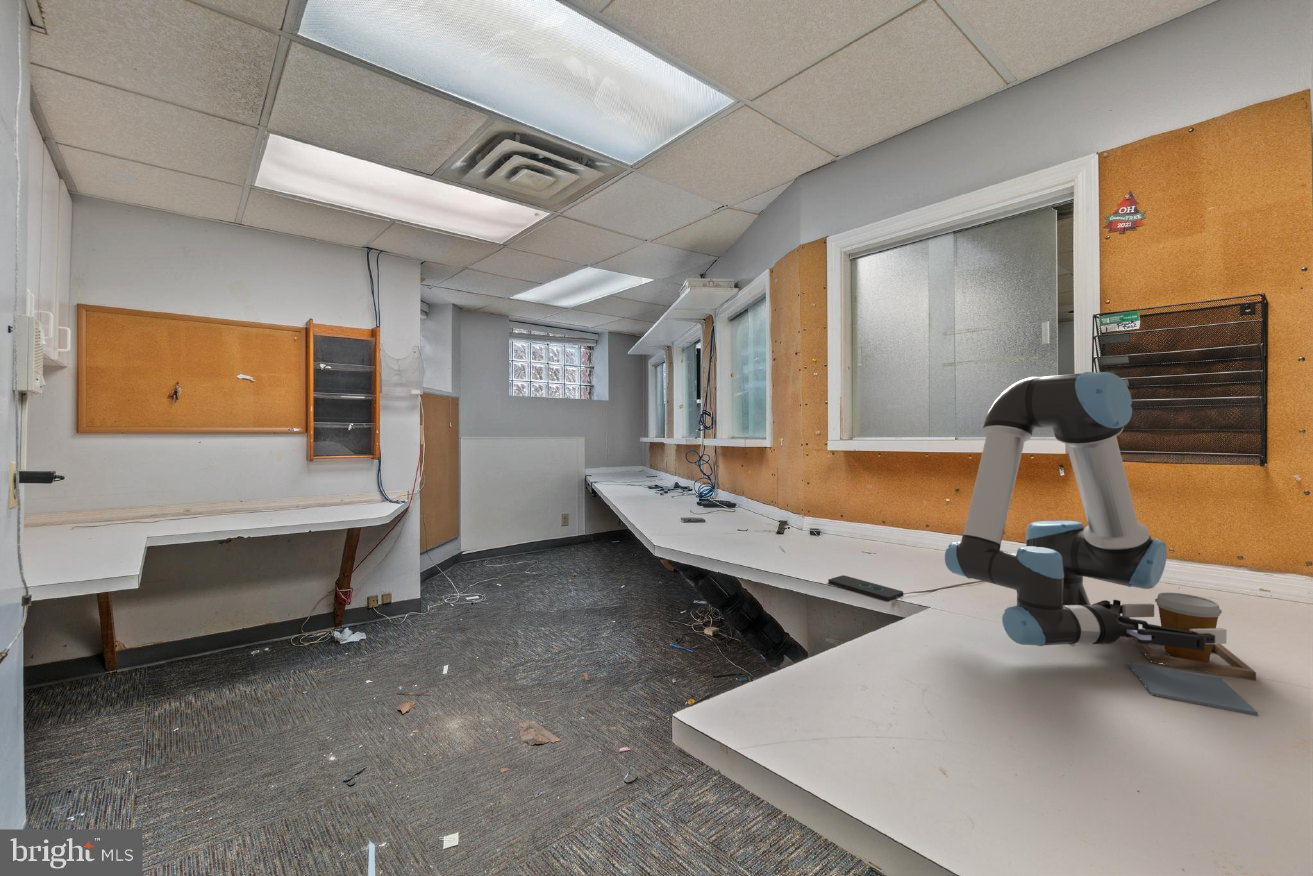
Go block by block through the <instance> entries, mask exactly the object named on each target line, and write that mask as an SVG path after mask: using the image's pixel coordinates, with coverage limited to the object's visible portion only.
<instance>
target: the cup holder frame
mask: <svg viewBox="0 0 1313 876" xmlns="http://www.w3.org/2000/svg"><path fill="white" fill-rule="evenodd" d="M1129 638H1130V639H1131V641H1132V642H1133V643H1134V642H1135V643H1134V644H1135V645H1136V646H1137V648H1138V649H1139V648H1140V649H1141V650H1142V651H1143V652H1142V651H1141V650H1140V649H1139V650H1140V651H1141V652H1142V653H1143V655H1145V654H1146V656H1147V657H1148V658H1149V659H1150V660H1151V661H1152V662H1156V663H1163V664H1165V665H1164V666H1167V665H1172V666H1171V667H1173V666H1174V668H1179V667H1180V668H1181V669H1186V670H1191V669H1192V671H1197V670H1198V671H1199V672H1203V673H1204V672H1205V673H1209V672H1210V674H1216V675H1217V674H1218V675H1221V676H1222V675H1223V676H1228V677H1234V678H1240V679H1245V680H1253V681H1257V672H1256V671H1255V670H1254V669H1252V667H1250V666H1249V665H1247V664H1246V663H1245V662H1244V661H1243V660H1242V659H1240V658H1239V657H1238V656H1237V655H1235V654H1234V653H1233V652H1232V651H1230V650H1229V649H1228V648H1226V647H1225V646H1224V644H1213V645H1212V650H1211V652H1214V653H1216V654H1217V655H1218V656H1219V657H1220V658H1222V659H1223V660H1224V662H1226V663H1228V664H1229V665H1225V664H1218V663H1213V662H1212V663H1211V662H1201V661H1195V660H1189V659H1182V658H1176V657H1172V656H1170V655H1163V654H1158V653H1157V652H1156V651H1155V650H1154V649H1153V647H1151V646H1150V645H1151V644H1141V643H1138V642H1137V638H1133V637H1129ZM1146 656H1145V657H1146ZM1147 657H1146V658H1147ZM1148 658H1147V659H1148ZM1149 659H1148V660H1149ZM1150 660H1149V661H1150ZM1151 661H1150V662H1151Z"/></svg>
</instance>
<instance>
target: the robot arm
mask: <svg viewBox="0 0 1313 876" xmlns="http://www.w3.org/2000/svg"><path fill="white" fill-rule="evenodd" d="M1131 395H1132V394H1131V392H1130V390H1129V388H1128V386H1127V384H1126V383H1125V381H1124V380H1123V379H1122V378H1121V377H1120V376H1119V375H1118V374H1117V375H1116V374H1114V373H1113V372H1109V371H1099V372H1093V371H1092V372H1091V371H1084V372H1081V373H1072V374H1071V373H1070V374H1061V375H1060V374H1059V375H1058V374H1057V375H1048V376H1030V377H1027V378H1024V379H1021V380H1019V381H1017V382H1014V383H1013V384H1012V385H1010V386H1009V387H1008V388H1006V389H1005V390H1004V391H1003V392H1001V394H1000V395H999V396H998V397H997V398H996V399H995V401H994V402H993V404H992V405H991V407H990V409H989V410H988V413H987V414H986V417H985V419H984V422H983V427H982V433H983V434H984V435H985V439H984V444H983V448H982V452H981V456H980V461H979V466H978V470H977V474H976V479H975V481H974V482H975V483H974V487H973V489H972V490H973V492H972V496H971V500H970V504H969V509H968V512H967V516H966V521H965V525H964V529H963V534H962V538H961V541H953V542H951V543H949V544H948V548H946V550H945V552H944V563H945V566H946V568H947V569H948V570H949V571H950V572H951V573H952V574H955V575H958V576H962V577H965V578H967V579H968V580H969V579H970V580H971V579H973V580H976V581H980V582H984V583H989V584H993V585H995V586H999V587H1003V588H1006V589H1011V590H1015V591H1016V605H1013V606H1008V607H1007V608H1006V609H1004V613H1003V614H1002V617H1001V619H1002V626H1003V629H1004V632H1005V633H1006V635H1007V636H1008V637H1009V638H1010V639H1011V640H1012V641H1013V642H1014V643H1016V644H1018V645H1021V646H1037V647H1044V646H1057V645H1060V646H1063V645H1069V646H1071V647H1075V646H1076V645H1110V644H1114V643H1116V642H1117V641H1118V640H1119V638H1121V637H1122V638H1128V639H1129V638H1130V637H1133V638H1137V642H1138V643H1141V644H1149V645H1158V646H1172V647H1180V648H1187V649H1194V650H1201V651H1202V650H1203V651H1205V644H1221V645H1227V638H1228V637H1227V630H1228V629H1225V628H1223V627H1220V628H1218V627H1216V628H1209V629H1190V631H1187V630H1181V629H1175V628H1169V627H1163V626H1161V625H1157V624H1150V623H1148V622H1147V620H1142V619H1136V618H1154V617H1155V603H1154V604H1153V603H1121V600H1118V599H1113V600H1112V602H1113V603H1111V601H1109V600H1107V599H1105V600H1101V601H1097V602H1095V603H1092V604H1091V602H1090V599H1089V597H1088V595H1087V591H1086V589H1085V587H1084V577H1085V578H1087V579H1094V580H1097V581H1101V582H1102V581H1103V582H1106V583H1112V584H1115V585H1116V584H1117V585H1121V586H1123V587H1125V586H1126V587H1128V588H1137V589H1143V590H1150V589H1153V588H1155V587H1156V586H1157V585H1158V584H1159V582H1160V580H1161V579H1162V576H1163V574H1164V571H1165V567H1166V562H1167V555H1168V551H1167V550H1168V549H1167V545H1166V542H1165V541H1163V540H1160V539H1158V538H1154V539H1153V538H1152V537H1151V533H1150V530H1149V529H1148V527H1147V526H1146V525H1145V524H1143V523H1141V522H1139V521H1138V518H1137V513H1136V511H1135V505H1134V501H1133V498H1132V494H1131V490H1130V486H1129V481H1128V479H1127V474H1126V471H1125V467H1124V462H1123V458H1122V454H1121V449H1120V447H1119V443H1118V438H1117V436H1119V435H1120V434H1121V433H1122V432H1123V430H1124V426H1126V425H1127V424H1128V423H1129V422H1130V420H1131V418H1132V414H1133V407H1132V404H1133V401H1132V400H1133V399H1132V396H1131ZM1036 428H1051V429H1052V431H1053V434H1054V438H1055V439H1056V440H1057V441H1059V443H1063V444H1064V445H1065V446H1066V449H1067V453H1068V457H1069V459H1070V463H1071V467H1072V471H1073V474H1074V478H1075V482H1076V484H1077V488H1078V492H1079V496H1080V500H1081V503H1082V507H1083V510H1084V513H1085V518H1086V520H1087V524H1088V525H1087V526H1086V527H1085V524H1084V523H1083V522H1080V521H1074V520H1043V521H1033V522H1031V523H1029V524H1028V525H1027V527H1026V533H1025V534H1026V536H1025V546H1021V547H1020V546H1019V548H1017V550H1016V553H1015V552H1010V551H1006V550H1005V551H1004V550H1001V548H1002V547H1001V546H1002V545H1001V544H1002V540H1003V536H1004V532H1005V527H1006V523H1007V519H1008V514H1009V510H1010V506H1011V502H1012V498H1013V493H1014V489H1015V484H1016V482H1017V481H1016V480H1017V476H1018V472H1019V467H1020V464H1021V458H1022V454H1023V451H1024V445H1025V442H1027V441H1030V440H1031V439H1032V435H1033V432H1034V430H1035V429H1036ZM1139 625H1141V628H1139V627H1140V626H1139Z"/></svg>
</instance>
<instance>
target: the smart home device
mask: <svg viewBox="0 0 1313 876" xmlns="http://www.w3.org/2000/svg"><path fill="white" fill-rule="evenodd" d="M828 584H829V585H832V586H836V587H839V588H843V589H845V590H850V591H853V592H856V593H859V594H863V595H866V596H869V597H872V598H876V599H880V600H883V601H886V602H890V601H893V600H896V599H898V598H901V597H904V591H902V590H901V589H900V590H899V589H896V588H892V587H888V586H885V585H882V584H878V583H875V582H874V583H873V582H870V581H866V580H862V579H859V578H856V577H850V576H848V575H845V574H844V575H839V576H836V577H832V578H828Z"/></svg>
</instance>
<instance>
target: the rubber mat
mask: <svg viewBox="0 0 1313 876" xmlns="http://www.w3.org/2000/svg"><path fill="white" fill-rule="evenodd" d="M1129 665H1130V666H1131V668H1132V669H1133V670H1134V672H1135V673H1136V674H1137V675H1136V674H1135V673H1134V672H1133V673H1134V674H1135V675H1136V677H1137V676H1138V677H1139V678H1140V679H1141V681H1142V682H1141V681H1140V682H1141V684H1144V685H1145V686H1146V687H1145V686H1144V685H1143V686H1144V687H1145V689H1146V688H1147V689H1148V690H1149V691H1148V690H1147V689H1146V690H1147V691H1148V693H1149V692H1150V693H1151V694H1152V695H1151V694H1150V693H1149V694H1150V695H1151V696H1153V695H1158V696H1157V697H1159V696H1161V697H1160V698H1164V697H1167V698H1166V699H1169V698H1171V699H1170V700H1174V699H1176V700H1175V701H1182V702H1185V701H1186V702H1185V703H1190V704H1191V703H1192V704H1195V703H1197V704H1196V705H1201V704H1203V705H1202V706H1206V705H1207V707H1211V706H1212V708H1216V709H1223V710H1228V711H1234V712H1238V713H1242V714H1243V713H1244V714H1248V715H1254V716H1259V712H1258V711H1257V710H1256V709H1255V708H1254V707H1253V706H1252V705H1251V704H1249V702H1248V701H1246V700H1245V699H1244V698H1243V696H1241V695H1240V694H1239V693H1238V692H1236V690H1234V689H1233V688H1232V687H1231V686H1230V685H1229V684H1228V683H1227V682H1226V681H1225V680H1224V679H1223V678H1221V677H1217V676H1211V675H1205V674H1200V673H1194V672H1193V673H1192V672H1186V671H1183V670H1182V671H1180V670H1177V669H1176V670H1175V669H1170V668H1169V669H1168V668H1164V667H1163V668H1162V667H1158V666H1151V665H1148V664H1147V665H1146V664H1142V663H1141V664H1140V663H1133V662H1128V666H1129ZM1130 666H1129V667H1130ZM1131 668H1130V669H1131ZM1132 669H1131V670H1132ZM1133 670H1132V671H1133ZM1138 677H1137V678H1138ZM1139 678H1138V679H1139ZM1140 679H1139V680H1140Z"/></svg>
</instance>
